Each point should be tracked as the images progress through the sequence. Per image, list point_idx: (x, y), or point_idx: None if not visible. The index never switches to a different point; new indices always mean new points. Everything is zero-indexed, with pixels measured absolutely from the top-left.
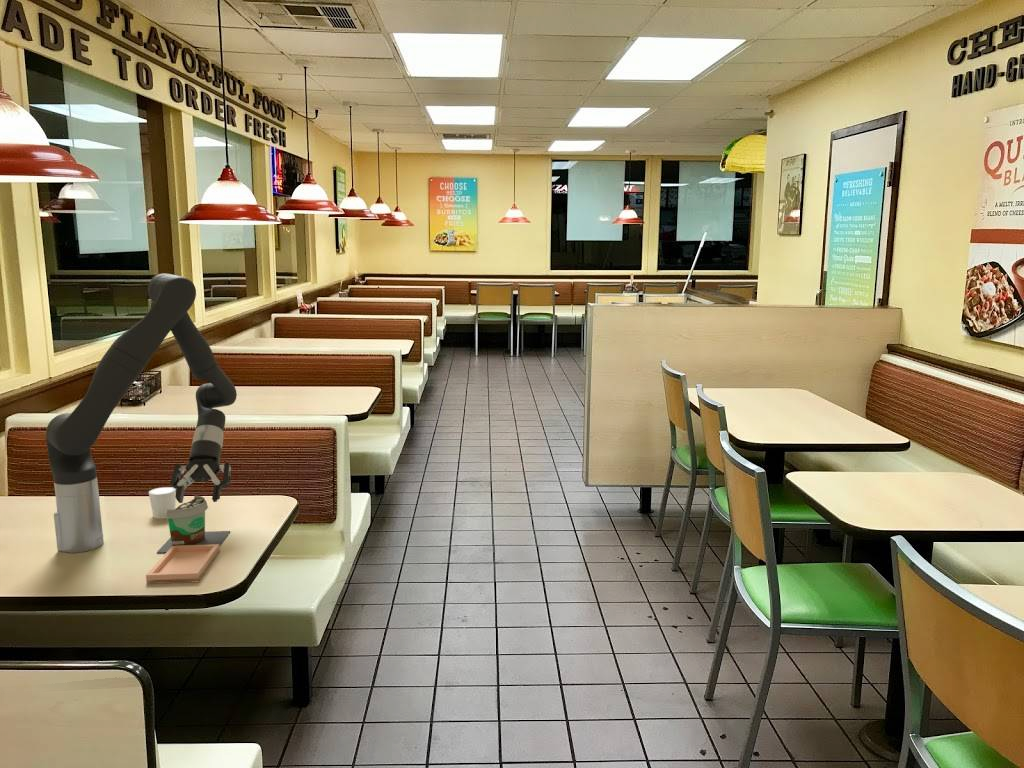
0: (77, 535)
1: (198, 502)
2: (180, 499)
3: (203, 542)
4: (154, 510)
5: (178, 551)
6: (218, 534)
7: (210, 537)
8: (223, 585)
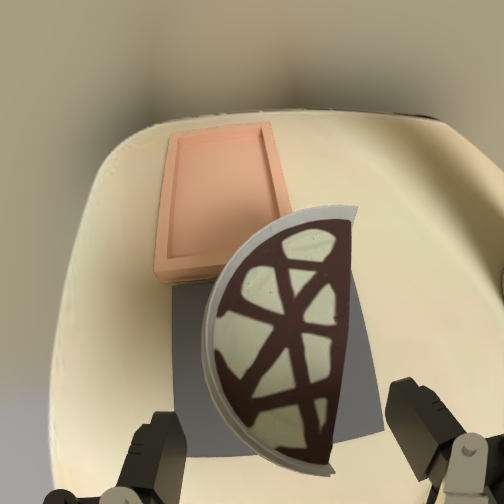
0: None
1: (265, 393)
2: (392, 387)
3: None
4: None
5: None
6: (209, 424)
7: None
8: (129, 146)
